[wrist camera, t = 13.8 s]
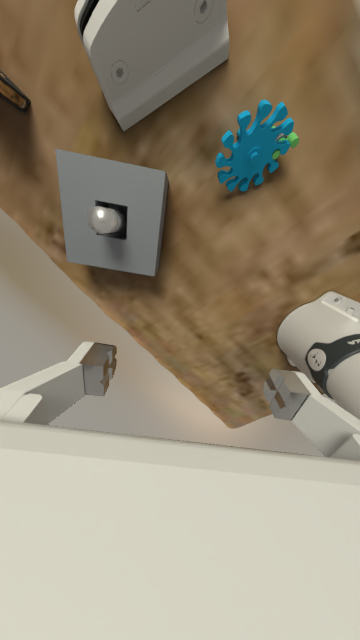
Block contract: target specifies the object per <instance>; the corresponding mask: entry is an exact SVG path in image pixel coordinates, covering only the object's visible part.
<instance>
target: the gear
mask: <svg viewBox="0 0 360 640" xmlns="http://www.w3.org/2000/svg"><path fill="white" fill-rule="evenodd" d="M271 110H272V105H271V104H270V102H269V101H267V100H261V102H260V103H259V105H258V111H257V115H256V118H255V121H254V122H253V124H252V126H251V127H250V129H249V130H247V131H246V128H247V126H248V125H249V123H250V121H251V115H250V113H249V111H244V112H242V113H241V114H239V115H238V118H237V121H238V123H239V126H240V129H239V130H238V132H237V136H238V137H239V140H238V141H237V142H236V143H235V144H233V141H234V137H233V135H232V133H231V131H227V132H226V133H225V135H224V136H223V137H222V139H221V140H222V143H223V145H224V147H226V148H229V149H231V151H232V155H231V157H230V158H228V159H225V157H224V155H223V153H219V154H218V155H217V158H216V161H215V164H216V166H217V167H218V168H221V167H224V166H229V167H231V169H230V170H229V171H227V172H226V171H224V170H221V171H219V172H218V179H219V182H220V183H224V182H225V181H226V180H227V179H228V178H230V177H233V176H236V177H235V178H234V179H231V180H228V181H227V182H226V186H227V188H228V190H229V191H233V190H234V188H235V187H236V185H237V184H238V183H239V182H240V181H241V180H242V179H244V178H245V179H244V180H243V181H242V182H240V184H239V186H238V187H239V190H240V191H246V190H247V189H248V185H249V182H250V180H251V179H252V177H253V176H254V175H255V174H256V173H257V174H256V176H255V177H254V179H253V182H254V184H255V185H259V184H261V183H262V182H263V180H264V179H263V177H262V172H263V169H264V166H265V165H266V164H268V166H267V168H268V170H269V172H270V173H272V172H273V171H275V170H276V169H277V168H278V167H279V164H278V163H277V161H276V160H275V159H277V158H278V157H279V155H280V154H281V155H284V154H285V153H286V152H287V150H288V149H289V147H291V148H294V147H295V146H296V145H297V144H298V143H299V138H298V137H297V135H296V134H295V133H294V132H292V130H293V125H294V121H293V120H292V119H291V118H288V119H287V120H285V121H284V122H283V123H282V124H281V125H279V126H278V127H275V126H273V124H274V123H275V122H277V121H281V120H283V119H284V118H285V117H286V116H287V114H288V112H287V108H286V107H285V105H284V104H283V102H280V103H279V104H278V105H277V107H276V109H275V111H274V112H273V114H272V115H271V117H270V118H269V119H268V120H267V121H266V122H264V123H263V124H262V125H260V124H261V121H262V120H263V119H264V118H265V117H267V116H268V115H269V113H270V112H271ZM291 132H292V133H291ZM287 135H289V136H288V137H287Z"/></svg>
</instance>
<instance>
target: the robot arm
mask: <svg viewBox="0 0 360 640" xmlns="http://www.w3.org/2000/svg"><path fill="white" fill-rule="evenodd" d="M335 299H336V300H335ZM334 300H335V301H334ZM277 342H278V345H279V347H280V349H281V350H282V351H283V352H284V353H285V354H286V355H287V360H288V362H289V363H290V364H291V365H292V366H297V367H298V368H299V369H300V370H301V371H302V372H303V373H302V372H297V371H286V370H279V369H272V370H271V371H270V373H269V376H270V378H269V379H267V380H266V381H265V383H264V385H263V393H264V396H265V398H266V399H267V400H268V401H269V402H270V406H269V407H270V409H271V411H272V413H273V415H274V417H275V418H278V419H284V420H291V421H292V423H293V424H294V425H295V426H296V427H297V428H298V429H299V430H300V431H301V432H302V433H303V434H304V435H305V436H306V437H307V438H308V439H309V440H310V441H311V442H312V443H313V444H314V445H315V446H316V447H317V448H318V450H319V451H320V452H322V454H323V455H324V456H325V457H321V456H312V455H303V454H294V453H286V452H277V451H268V450H259V449H250V448H241V447H233V446H224V445H215V444H207V443H198V442H188V441H180V440H171V439H163V438H154V437H146V436H137V435H128V434H119V433H110V432H102V431H93V430H84V429H75V428H66V427H58V426H49V424H48V423H50V422H51V421H52V420H54V419H55V418H56V417H58V416H59V415H60V414H61V413H63V412H64V411H65V410H67V409H68V408H69V407H71V406H72V405H73V404H75V403H76V402H77V401H78V400H80V399H81V398H82V397H84V396H85V395H95V396H104V395H105V393H106V391H107V388H108V386H109V380H110V379H112V378H113V375H114V372H115V369H116V358H115V355H116V353H117V351H116V350H117V348H116V346H114V345H108V344H101V343H95V342H89V341H84V342H83V343H82V344H81V345H80V346H79V347H78V348H77V350H76V351H75V352H74V353H73V354H72V356H71V357H70V358H69V359H68V360H67V361H66V362H60V363H58V364H56V365H54V366H51V367H49V368H47V369H44V370H42V371H40V372H37V373H35V374H33V375H30V376H28V377H26V378H23V379H21V380H19V381H17V382H14V383H12V384H10V385H7V386H5V387H3V388H0V640H360V303H359V302H357V301H354V300H352V299H350V298H347V297H345V296H343V295H340V294H338V293H336V292H332V291H331V292H328V293H326V294H324V295H323V296H321V297H320V298H319V299H317V300H316V301H314V302H311V303H308V304H306V305H303V306H301V307H299V308H297V309H296V310H294V311H293V312H292V313H290V314H289V315H288V316H287V317H286V318H285V320H284V321H283V322H282V324H281V326H280V328H279V330H278V334H277ZM306 376H307V377H308V378H309V379H310V380H311V381H312V382H314V383H317V385H318V387H319V388H320V389H321V390H322V391H323V392H324V393H325V394H326V395H327V396H328V397H330V398H332V399H334V400H335V401H336V403H337V404H338V405H339V406H338V405H337V404H335V403H333V402H332V401H331V400H329V399H328V398H326V397H323V396H322V395H321V394H320V393H319V391H318V390H317V389H316V388H315V387H314V385H313V384H312V383H311V382H310V380H309V379H308V378H307V377H306Z"/></svg>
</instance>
